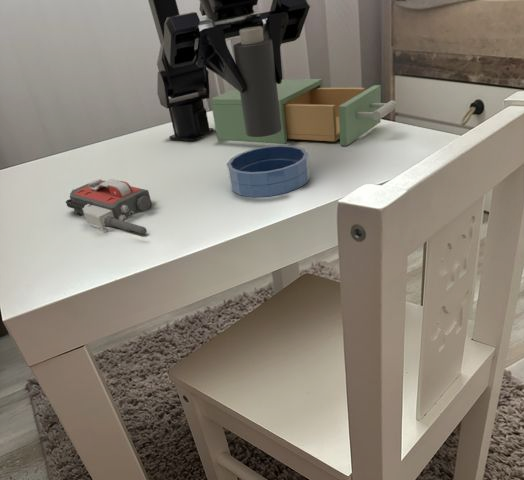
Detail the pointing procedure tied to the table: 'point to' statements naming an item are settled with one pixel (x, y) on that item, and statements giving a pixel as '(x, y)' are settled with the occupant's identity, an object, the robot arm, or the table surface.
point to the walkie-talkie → (110, 203)
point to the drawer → (335, 113)
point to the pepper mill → (258, 83)
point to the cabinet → (232, 118)
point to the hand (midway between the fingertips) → (262, 86)
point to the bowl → (269, 170)
